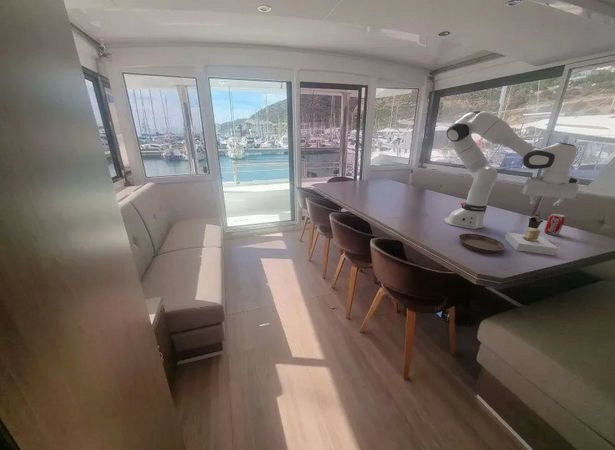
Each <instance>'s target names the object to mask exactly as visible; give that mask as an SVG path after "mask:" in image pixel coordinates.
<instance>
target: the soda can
mask: <svg viewBox="0 0 615 450" xmlns="http://www.w3.org/2000/svg"><path fill="white" fill-rule="evenodd" d="M565 217H566V216H565V215H564V214H561V213H551V215H549V216H548V219H547V220H546V223H545V226H544V229H543V232H544V233H545V234H548V235H552V236H557V235H560V232H562V229H563V225H564V223H565V221H566V218H565Z"/></svg>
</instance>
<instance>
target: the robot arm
mask: <svg viewBox="0 0 615 450" xmlns="http://www.w3.org/2000/svg"><path fill="white" fill-rule="evenodd" d="M473 133H475V134H477V135H478V136H480V137H481V138H483V139H484V140H486V141H488V142H489V143H492V144H494V145H500V146H504V147H506V148H509V149H511V151H513V152H515V153H516V154H517V155H518V156H520V157H522V164H523V166H524V167H525V168H527V169H529V170H538V169H539V170H541V169H544V170H543V172H542V175H541V176H531V177H528V178H526V181H525V185H524V187H523V188H522V190H521V191H522V194H523V195H525V196H528V197H529V199H530V202H529V205H536V200H534V199H535V198H536V197H547V198H558V200H557V201H554V202H553V204H552V206H553V207H559V206H560V203H563V201H565V199H569V200H570V199H571V200H572V199H574V198H576V196H577V194H578V191H579V184H580V182H581V179H579V178H576V177H573V176H571V175H569V174H570V168H571V167H572V165H573V164H574V161H575V159H576V156H577V151H578V150H577V149H578V148H577V147H576V145H574V144H572V143H571V144H570V143H566V142H565V143H564V142H555V143H554V144H552V145H548V146H544V147H536V146H533V145H532V144H530V143H529V142H527V141H526V140H524V139H523V138H521V137H520V136H519V135H518V134H517V133H516V132H515V131H514V129H513V128H512V127H511V126H510V125H509V124H508V123H507V122H506V121H504V120H503V119H502V118H500V117H499V116H497V115H495V114H493V113H491V112H488V111H484V110H483V111H481V110H477V109H474V110H470V111H468V112H466V114H463V115H462V116H460V117H459V118H458V119H457V120H456V121H454V123H452V124H450V126H449V127H448V128H447V130H446V137H447V139H448V140H449V141H450V145H451V147H452V148H453V151H454V152H455V153H456V155H457V156H458V158H459V159H460V160H461V162H462V163H463V165H464V166H465V168H466V170H467V171H468V173H470V175H471V177H472V178H473V181H472V184H471V186H470V189H469V190H468V192H467V193H468V194H467V198H466V202H463V201H461V202H460V203H459V204H460V206H461V207H460V208H458V209H457V208H456V210H453V211H451V213H449V216H448V217H445V218H444V223H446V224H447V225H450V226H453V227H454V226H455V227H460V228H461V227H462V228H466V229H467V228H468V229H472V230H477V229H480V228H484V218H485V213H486V211H487V208H488V206H487V203H488V200H489V197H490V194H491V192H492V189H493V187H494V185H495V183H496V180H497V179H498V170H497V169H496V168H495V167H493V166H492V165H491V164H490V163H489V161H488V159H487V158H486V156H485V155H484V152H483V151H482V150H481V148H480V147H479V146H478V144H477V142H476V141H475V140H474V139H473V136H472V134H473Z"/></svg>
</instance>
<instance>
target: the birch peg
mask: <svg viewBox="0 0 615 450" xmlns="http://www.w3.org/2000/svg"><path fill="white" fill-rule="evenodd" d="M524 234H525V237H524V239H525V240H526V241H531V242H537V239H538V237H539V236H540V234H541V230H540V229H538V228H529V227H527V229H526V231H525V233H524Z"/></svg>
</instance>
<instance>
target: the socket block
mask: <svg viewBox="0 0 615 450" xmlns="http://www.w3.org/2000/svg"><path fill="white" fill-rule="evenodd" d="M525 234H526V233H517V232H509V231H508V232H506V235H505V238H504V239H505V240H506V241H507V243H509V244H510V245H511V247H513V248H514V249H515V250H516V251H521V252H528V253H534V254H535V253H536V254H541V255H548V256H549V255H550V256H556V254H557V252H558V249H559V248H558V246H556V245H555V244H553V243H551V242H550V241H549V240H548V239H546V238H545V237H543V236H541V235H539V237H538V239H537V242H531V241H526V240H525V239H524V237H525Z"/></svg>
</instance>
